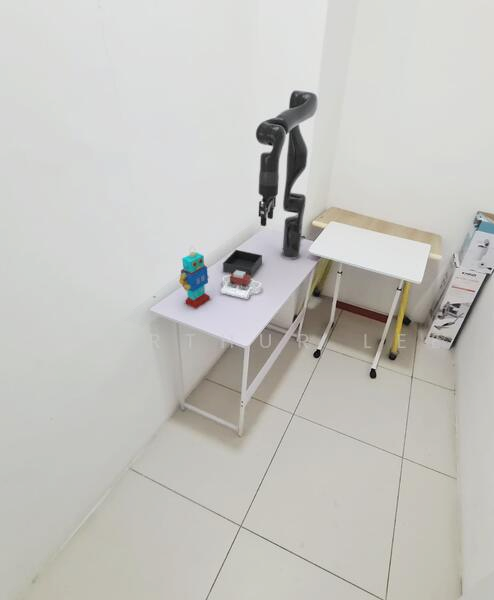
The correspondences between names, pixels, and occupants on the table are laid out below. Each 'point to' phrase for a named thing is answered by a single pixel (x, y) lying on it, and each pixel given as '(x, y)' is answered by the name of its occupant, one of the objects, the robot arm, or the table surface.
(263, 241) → the table surface
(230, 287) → the knuckle duster
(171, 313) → the table surface
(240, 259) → the storage box
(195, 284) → the toy robot
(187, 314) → the table surface
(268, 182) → the robot arm
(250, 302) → the table surface
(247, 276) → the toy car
